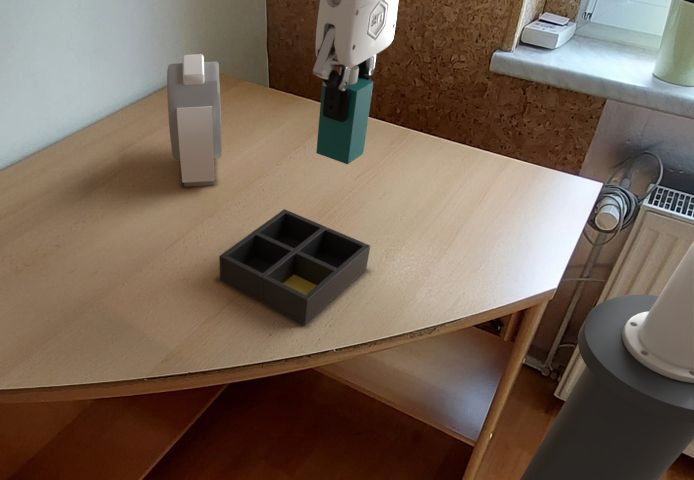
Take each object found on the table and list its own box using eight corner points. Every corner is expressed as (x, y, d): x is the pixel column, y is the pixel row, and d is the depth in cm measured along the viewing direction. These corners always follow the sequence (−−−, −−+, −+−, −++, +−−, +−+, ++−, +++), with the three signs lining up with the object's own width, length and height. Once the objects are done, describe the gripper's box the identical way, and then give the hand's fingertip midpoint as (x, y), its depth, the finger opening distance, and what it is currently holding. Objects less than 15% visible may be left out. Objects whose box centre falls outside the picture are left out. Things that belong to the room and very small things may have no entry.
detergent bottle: (363, 153, 82) (375, 67, 74) (347, 164, 80) (358, 77, 72) (331, 142, 84) (340, 58, 76) (316, 153, 83) (323, 67, 75)
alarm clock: (223, 195, 108) (220, 79, 94) (174, 198, 109) (164, 82, 94) (220, 146, 121) (217, 37, 107) (177, 148, 121) (168, 40, 107)
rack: (366, 270, 92) (370, 245, 88) (304, 325, 84) (307, 300, 81) (282, 233, 100) (284, 208, 96) (220, 280, 92) (219, 255, 89)
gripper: (349, -33, 59) (330, 146, 72) (437, -71, 67) (406, 97, 80) (287, -44, 63) (280, 128, 76) (376, -78, 71) (356, 83, 84)
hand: (344, 110), depth 78 cm, fingers closed on detergent bottle, 3 cm apart
